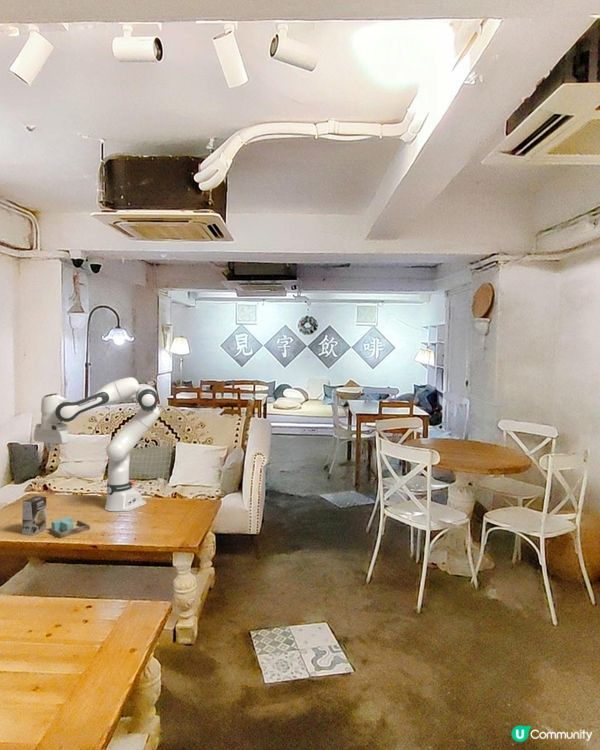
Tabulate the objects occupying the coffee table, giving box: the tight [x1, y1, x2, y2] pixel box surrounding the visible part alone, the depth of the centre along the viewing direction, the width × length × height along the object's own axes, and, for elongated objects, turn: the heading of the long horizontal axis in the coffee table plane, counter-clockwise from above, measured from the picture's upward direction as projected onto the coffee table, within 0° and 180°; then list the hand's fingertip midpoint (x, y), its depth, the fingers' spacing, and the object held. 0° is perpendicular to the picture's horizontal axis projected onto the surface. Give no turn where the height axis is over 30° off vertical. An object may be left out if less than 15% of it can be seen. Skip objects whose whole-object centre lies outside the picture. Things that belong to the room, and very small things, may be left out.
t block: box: [50, 516, 74, 532], centre depth 244 cm, size 9×9×4 cm
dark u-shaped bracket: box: [48, 520, 91, 539], centre depth 243 cm, size 15×10×2 cm, turn 143°
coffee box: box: [21, 495, 47, 536], centre depth 241 cm, size 9×6×16 cm
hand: (50, 451), depth 262 cm, fingers closed
